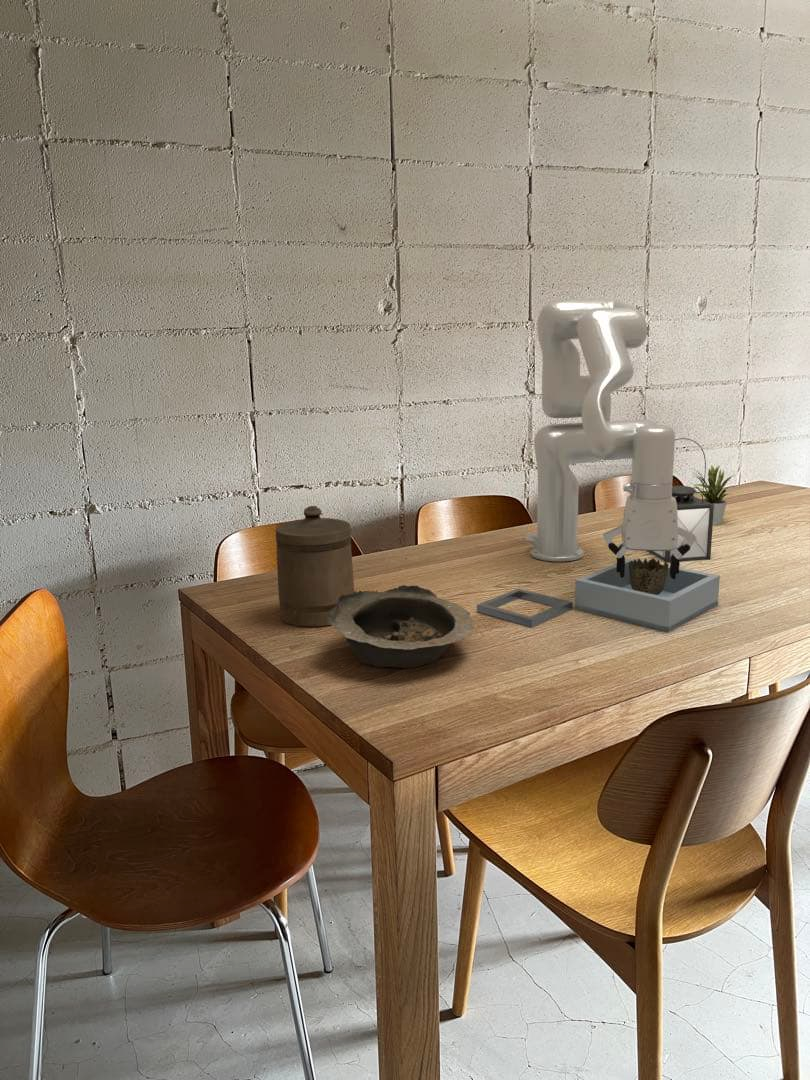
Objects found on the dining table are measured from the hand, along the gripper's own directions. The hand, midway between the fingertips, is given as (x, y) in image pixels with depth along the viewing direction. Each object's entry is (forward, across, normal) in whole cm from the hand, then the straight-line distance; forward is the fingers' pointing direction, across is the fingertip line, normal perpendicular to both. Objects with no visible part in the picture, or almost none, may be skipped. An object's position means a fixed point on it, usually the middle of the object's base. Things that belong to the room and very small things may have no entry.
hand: (647, 576), depth 165 cm
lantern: (+7, +11, +38) cm, 41 cm away
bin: (+6, 0, 0) cm, 6 cm away
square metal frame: (+6, -24, -4) cm, 25 cm away
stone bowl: (+7, -44, -28) cm, 52 cm away
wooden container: (+7, -64, -10) cm, 65 cm away
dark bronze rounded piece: (+5, 0, 0) cm, 5 cm away
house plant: (+7, +24, +72) cm, 76 cm away
